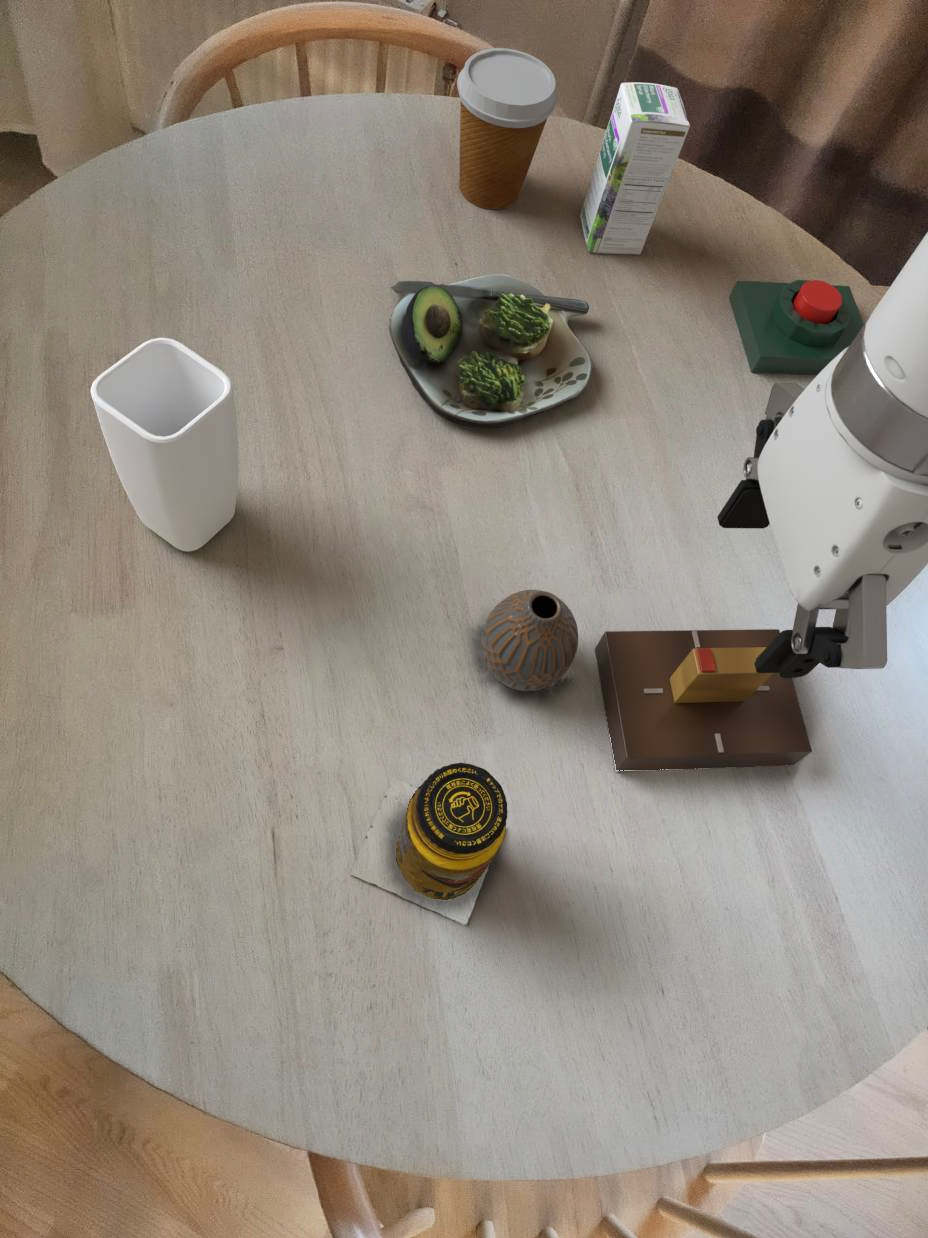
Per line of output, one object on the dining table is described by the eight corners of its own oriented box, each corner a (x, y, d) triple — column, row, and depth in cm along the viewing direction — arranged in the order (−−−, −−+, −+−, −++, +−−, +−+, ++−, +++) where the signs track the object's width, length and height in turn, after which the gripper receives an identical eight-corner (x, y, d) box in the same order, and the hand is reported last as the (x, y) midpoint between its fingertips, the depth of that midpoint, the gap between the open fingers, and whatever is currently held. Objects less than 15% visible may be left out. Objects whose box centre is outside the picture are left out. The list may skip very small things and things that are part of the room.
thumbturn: (739, 676, 71) (768, 645, 66) (745, 701, 70) (775, 671, 65) (669, 678, 70) (694, 646, 65) (674, 703, 69) (699, 672, 64)
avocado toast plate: (544, 261, 94) (554, 222, 90) (635, 393, 87) (650, 357, 83) (363, 304, 87) (365, 264, 83) (446, 449, 81) (453, 414, 77)
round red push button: (827, 294, 92) (835, 280, 90) (838, 325, 90) (847, 311, 88) (788, 292, 91) (796, 278, 89) (799, 323, 89) (807, 309, 88)
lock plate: (763, 646, 76) (780, 627, 73) (794, 765, 71) (813, 750, 68) (594, 649, 73) (605, 630, 71) (615, 772, 69) (627, 757, 66)
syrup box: (577, 215, 98) (617, 78, 85) (632, 217, 99) (679, 83, 86) (587, 254, 95) (629, 119, 82) (643, 256, 96) (693, 123, 83)
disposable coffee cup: (503, 234, 95) (527, 122, 84) (425, 189, 96) (438, 74, 86) (551, 187, 99) (579, 76, 89) (475, 146, 101) (494, 31, 90)
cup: (186, 464, 76) (160, 327, 63) (256, 513, 75) (243, 384, 62) (119, 521, 73) (77, 389, 60) (190, 573, 72) (163, 450, 59)
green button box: (838, 302, 97) (858, 271, 93) (866, 377, 92) (888, 347, 89) (728, 297, 95) (744, 265, 91) (751, 373, 90) (768, 342, 87)
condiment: (466, 927, 62) (497, 885, 52) (348, 875, 63) (355, 823, 52) (504, 826, 66) (540, 768, 55) (392, 778, 66) (407, 712, 56)
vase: (517, 721, 70) (542, 670, 62) (456, 654, 72) (474, 596, 64) (583, 669, 72) (614, 615, 65) (522, 606, 74) (546, 546, 67)
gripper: (1080, 566, 37) (859, 729, 52) (939, 256, 45) (783, 474, 60) (905, 566, 36) (731, 733, 51) (793, 247, 44) (670, 472, 59)
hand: (759, 592), depth 55 cm, fingers open, 9 cm apart
